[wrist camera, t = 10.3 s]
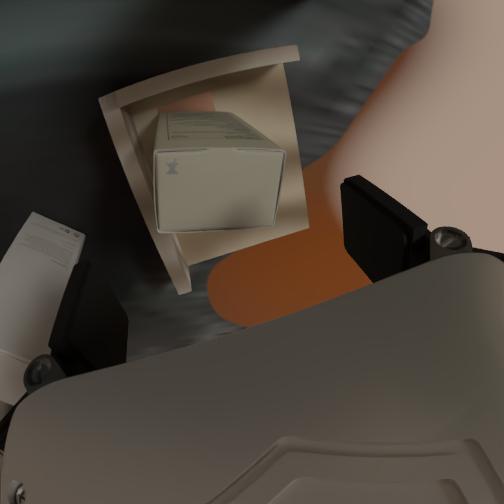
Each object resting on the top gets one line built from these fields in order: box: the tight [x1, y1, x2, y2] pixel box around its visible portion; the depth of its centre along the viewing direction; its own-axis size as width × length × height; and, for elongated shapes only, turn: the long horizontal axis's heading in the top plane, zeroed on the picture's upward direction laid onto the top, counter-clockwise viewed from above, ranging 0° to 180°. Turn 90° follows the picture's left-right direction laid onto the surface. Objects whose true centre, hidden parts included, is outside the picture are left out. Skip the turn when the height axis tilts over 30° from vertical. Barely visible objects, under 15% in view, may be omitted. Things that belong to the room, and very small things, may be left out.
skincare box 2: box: [153, 111, 287, 233], centre depth 19 cm, size 6×4×12 cm
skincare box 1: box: [0, 212, 86, 405], centre depth 21 cm, size 8×7×16 cm
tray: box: [98, 45, 309, 295], centre depth 25 cm, size 18×14×4 cm
